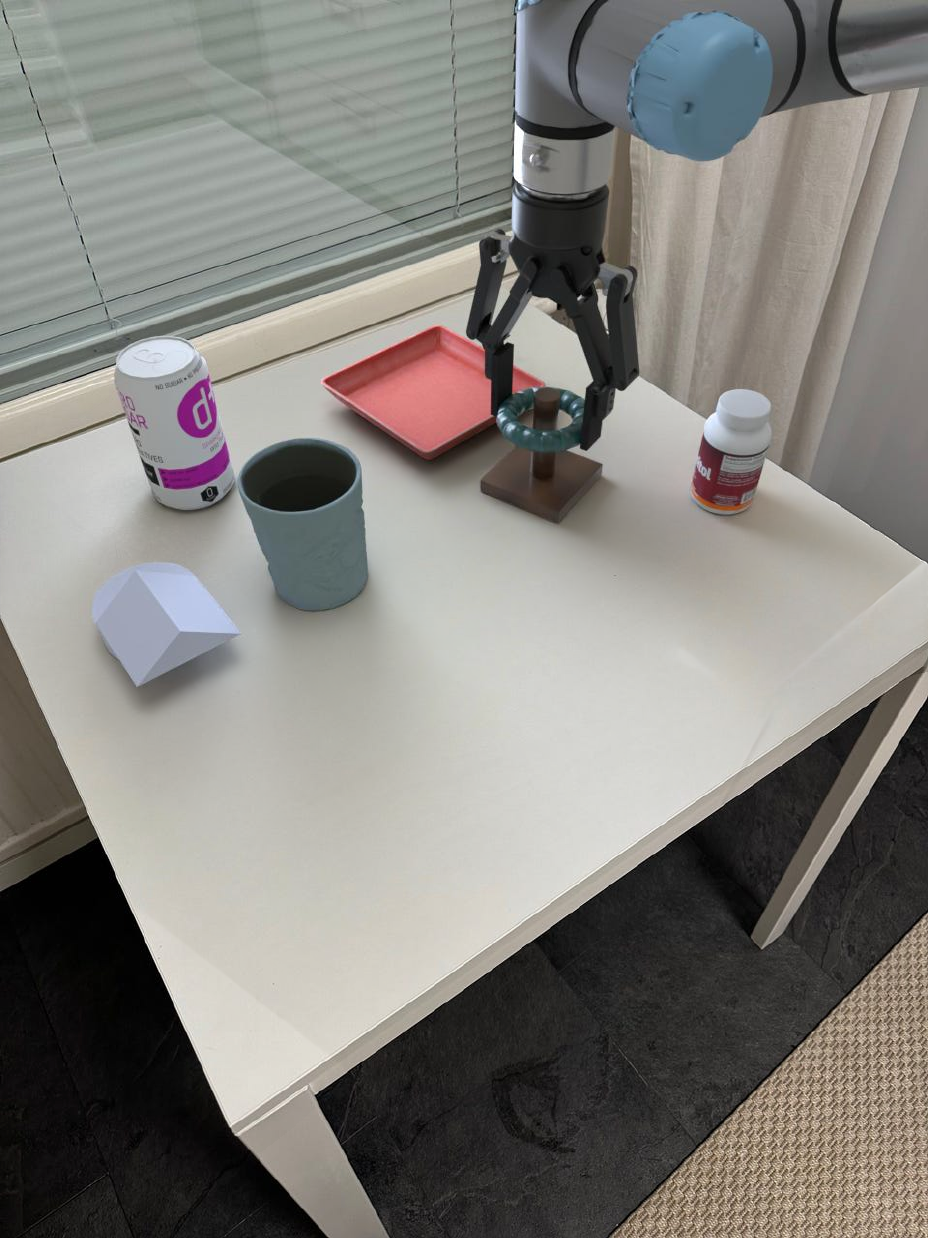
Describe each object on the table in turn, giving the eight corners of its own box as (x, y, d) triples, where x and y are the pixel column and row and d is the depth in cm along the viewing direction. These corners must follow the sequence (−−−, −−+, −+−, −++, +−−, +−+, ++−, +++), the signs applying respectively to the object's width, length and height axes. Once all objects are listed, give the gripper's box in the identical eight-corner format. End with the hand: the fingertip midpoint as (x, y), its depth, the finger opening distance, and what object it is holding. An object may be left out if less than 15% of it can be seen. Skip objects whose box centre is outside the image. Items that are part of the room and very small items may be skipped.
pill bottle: (686, 476, 91) (707, 381, 83) (748, 478, 91) (774, 384, 83) (691, 515, 87) (714, 420, 79) (756, 518, 86) (785, 423, 78)
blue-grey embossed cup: (381, 607, 79) (369, 502, 70) (266, 626, 78) (239, 522, 69) (365, 533, 86) (352, 429, 77) (259, 549, 84) (233, 445, 75)
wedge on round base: (249, 660, 75) (182, 574, 82) (233, 605, 70) (163, 519, 77) (148, 713, 71) (87, 618, 78) (124, 658, 66) (61, 563, 73)
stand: (601, 475, 91) (613, 386, 84) (557, 524, 86) (565, 434, 79) (526, 446, 95) (531, 358, 87) (480, 491, 90) (480, 402, 82)
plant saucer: (547, 408, 100) (549, 382, 97) (427, 478, 91) (426, 452, 89) (439, 347, 109) (438, 322, 106) (320, 406, 100) (316, 380, 98)
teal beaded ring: (610, 419, 86) (612, 401, 85) (561, 469, 81) (563, 451, 80) (529, 389, 90) (530, 372, 88) (477, 436, 85) (477, 418, 83)
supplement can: (251, 474, 92) (220, 343, 81) (203, 523, 87) (163, 389, 76) (187, 455, 94) (148, 325, 83) (137, 501, 89) (89, 369, 78)
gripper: (418, 167, 71) (429, 408, 88) (669, 234, 63) (629, 486, 79) (471, 138, 75) (471, 373, 92) (713, 196, 67) (666, 443, 83)
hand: (544, 425), depth 85 cm, fingers closed on teal beaded ring, 9 cm apart
